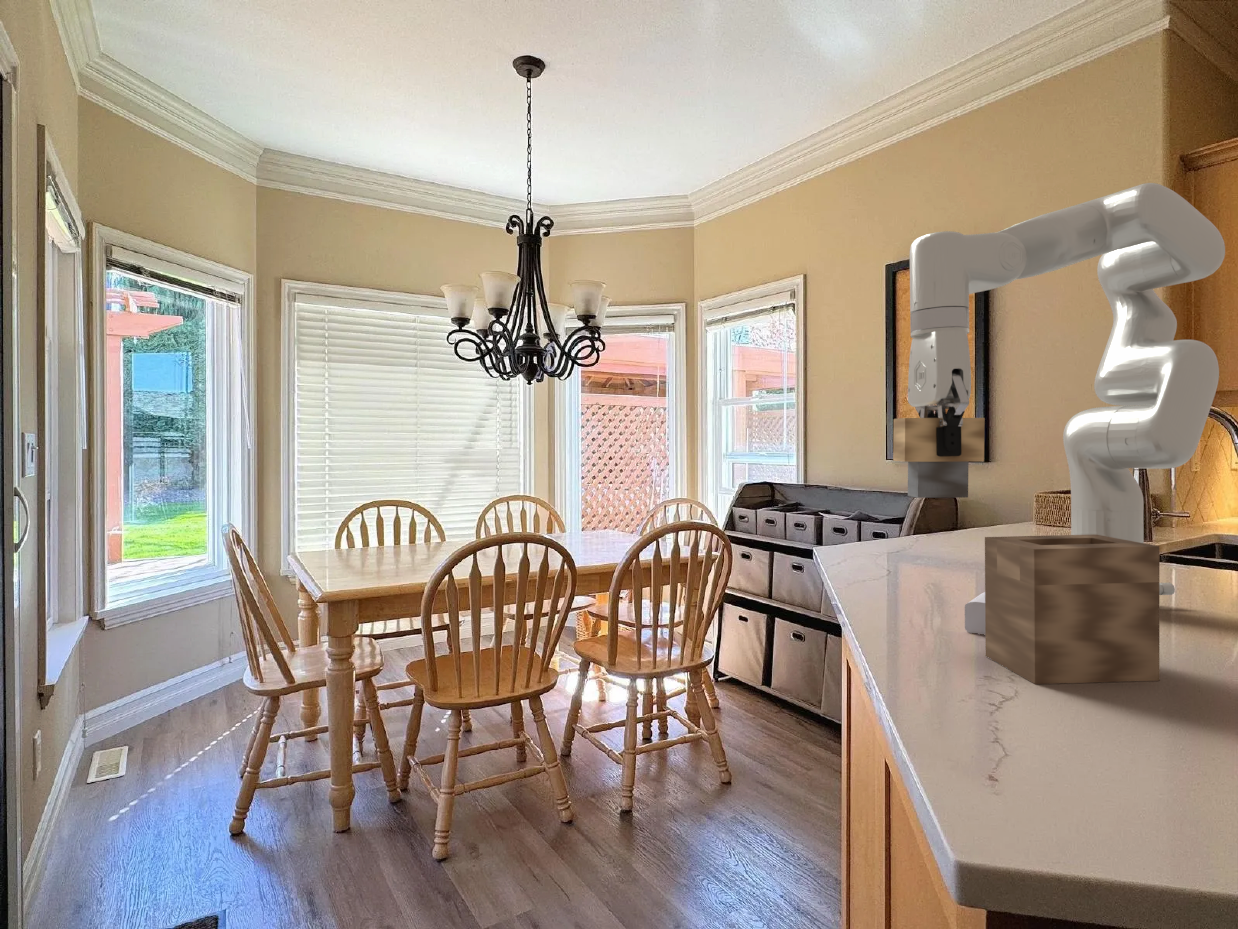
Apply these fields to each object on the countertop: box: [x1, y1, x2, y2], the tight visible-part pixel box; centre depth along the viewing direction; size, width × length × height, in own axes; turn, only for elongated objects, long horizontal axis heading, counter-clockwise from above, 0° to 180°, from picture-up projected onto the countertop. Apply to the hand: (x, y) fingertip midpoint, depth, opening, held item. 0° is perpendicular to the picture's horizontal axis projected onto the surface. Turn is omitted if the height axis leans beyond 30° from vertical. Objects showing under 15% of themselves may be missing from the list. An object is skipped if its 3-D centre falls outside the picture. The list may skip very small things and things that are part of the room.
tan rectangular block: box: [892, 417, 986, 499], centre depth 102 cm, size 11×4×11 cm, turn 91°
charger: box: [964, 591, 985, 635], centre depth 105 cm, size 5×9×15 cm
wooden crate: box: [984, 534, 1160, 685], centre depth 85 cm, size 14×10×15 cm
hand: (941, 454), depth 102 cm, fingers closed on tan rectangular block, 4 cm apart
